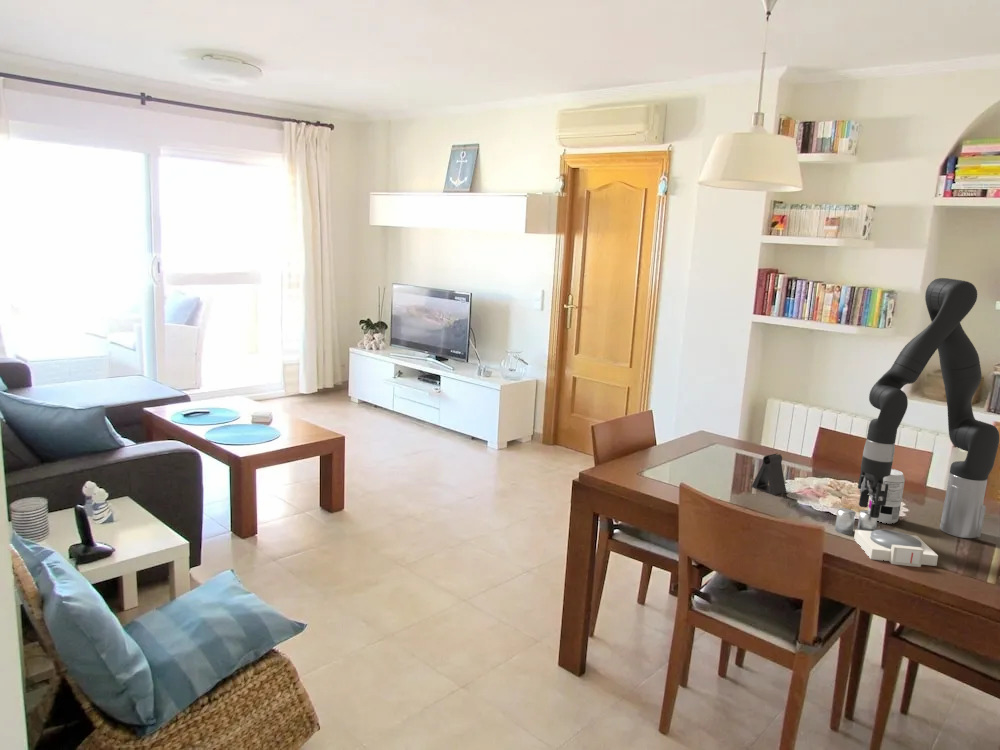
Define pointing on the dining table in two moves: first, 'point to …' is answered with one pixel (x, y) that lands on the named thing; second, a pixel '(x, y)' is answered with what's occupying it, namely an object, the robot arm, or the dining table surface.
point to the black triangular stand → (770, 476)
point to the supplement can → (891, 497)
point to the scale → (895, 547)
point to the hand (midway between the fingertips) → (868, 511)
